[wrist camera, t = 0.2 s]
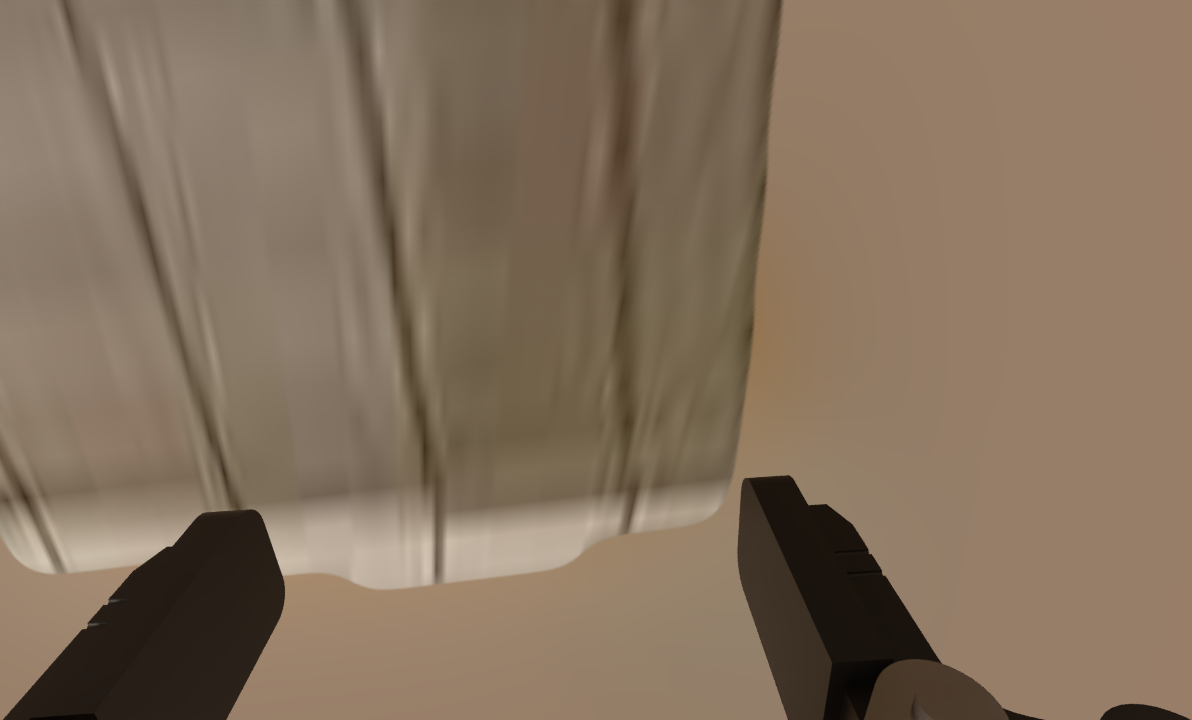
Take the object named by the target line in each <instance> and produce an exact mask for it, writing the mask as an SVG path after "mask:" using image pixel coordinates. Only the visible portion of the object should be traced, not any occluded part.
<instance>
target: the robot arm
mask: <svg viewBox="0 0 1192 720" xmlns="http://www.w3.org/2000/svg"><path fill="white" fill-rule="evenodd" d="M738 567H739V573H740V579H741V583H742V587H743V590H744V593H745V596H746V599H747V602H748V605H749V608H750V611H751V613H752V616H753V619H754V622H755V625H756V628H757V631H758V634H759V637H760V640H761V643H762V645H763V648H764V651H765V654H766V657H767V660H768V663H769V666H770V669H771V672H772V675H773V677H774V680H775V683H776V686H777V689H778V692H779V695H780V698H781V701H782V704H783V706H784V709H785V712H786V715H787V718H788V720H1043V719H1038V718H1034V717H1029V716H1025V715H1021V714H1018V713H1014V712H1011V711H1009V710H1006V709H1003V708H1002V707H1001V705H1000V704H999V703H998V702H997V700H996V699H995V698H994V697H993V696H992V695H991V694H990V693H989V692H988V691H987V690H986V689H985V688H984V687H983V686H981V685H980V684H979V683H977V682H976V681H975V680H973V679H972V678H970V677H969V676H967V675H965V674H964V673H962V672H960V671H958V670H956V669H954V668H952V667H949V666H947V665H944V664H942V663H941V662H940V660H939V659H938V658H937V656H936V654H935V653H934V651H933V650H932V648H931V647H930V645H929V643H928V642H927V640H926V639H925V637H924V635H923V634H922V633H921V631H920V629H919V628H918V626H917V625H916V623H915V621H914V620H913V619H912V617H911V615H910V614H909V612H908V610H907V609H906V607H905V606H904V604H903V603H902V601H901V599H900V598H899V596H898V595H897V593H896V592H895V590H894V589H893V587H892V585H891V584H890V582H889V581H888V579H887V578H886V576H883V575H882V570H881V568H880V567H879V565H878V564H877V562H876V560H875V559H874V557H873V556H872V554H869V552H868V548H867V546H866V545H865V543H864V542H863V540H862V538H861V537H860V535H859V534H858V532H857V531H856V529H855V527H854V526H853V524H851V523H850V522H849V521H847V520H846V519H845V518H843V517H842V516H841V515H840V514H838V513H837V512H836V511H835V510H833V509H832V508H831V507H829V506H828V505H827V504H821V505H808V504H807V502H806V500H805V499H804V497H803V495H802V494H801V492H800V490H799V488H798V486H797V485H796V483H795V481H794V479H793V478H792V477H791V476H789V475H786V476H771V477H756V478H745V479H744V480H743V483H742V489H741V502H740V518H739V534H738ZM284 599H285V585H284V580H283V576H282V573H281V570H280V567H279V565H278V562H277V559H276V556H275V553H274V550H273V547H272V544H271V541H270V538H269V536H268V533H267V530H266V527H265V524H264V521H263V519H262V517H261V515H260V514H259V513H258V512H257V511H256V510H252V509H251V510H235V511H220V512H206V513H203V514H201V515H199V516H198V517H197V518H196V519H195V520H194V521H193V523H192V524H191V525H190V526H189V527H188V529H187V530H186V531H185V532H184V533H183V535H182V536H181V537H180V538H179V539H178V541H177V542H176V543H175V544H174V545H173V546H172V547H166V548H165V549H163V550H162V551H160V552H159V553H158V554H156V555H155V556H154V557H152V558H151V559H149V560H148V561H147V562H145V563H144V564H143V565H141V566H140V567H138V568H137V569H136V570H134V571H133V572H132V573H131V574H130V575H129V577H128V578H127V579H126V580H125V581H124V582H123V583H122V585H121V586H120V587H119V588H118V589H117V590H116V591H115V593H114V594H113V595H112V596H111V597H110V598H109V603H108V605H103V606H102V607H101V608H100V610H99V611H98V612H97V613H96V614H95V615H94V616H93V618H92V619H91V620H90V621H89V622H88V627H87V629H83V630H81V631H80V632H79V634H78V635H77V636H76V637H75V638H74V639H73V641H72V642H71V643H70V644H69V645H68V646H67V647H66V648H65V650H64V651H63V652H62V653H61V654H60V655H59V656H58V658H57V659H56V660H55V661H54V662H53V663H52V664H51V666H50V667H49V668H48V669H47V670H46V671H45V672H44V674H43V675H42V676H41V677H40V678H39V679H38V680H37V682H36V683H35V684H34V685H33V686H32V687H31V689H30V690H29V691H28V692H27V693H26V694H25V695H24V696H23V697H22V699H21V700H20V701H19V702H18V703H17V704H16V705H15V707H14V708H13V709H12V710H11V711H10V713H9V714H8V715H7V716H6V717H5V718H4V719H3V720H226V719H227V717H228V715H229V713H230V712H231V710H232V708H233V706H234V704H235V702H236V700H237V698H238V696H239V695H240V693H241V691H242V689H243V687H244V685H245V683H246V681H247V679H248V677H249V676H250V673H251V671H252V670H253V668H254V666H255V664H256V662H257V660H258V658H259V657H260V655H261V653H262V651H263V649H264V647H265V645H266V644H267V642H268V640H269V638H270V636H271V634H272V632H273V630H274V628H275V626H276V625H277V623H278V621H279V619H280V616H281V613H282V610H283V606H284ZM1100 720H1190V719H1188V718H1186V717H1184V716H1181V715H1179V714H1176V713H1173V712H1171V711H1168V710H1164V709H1161V708H1158V707H1154V706H1148V705H1141V704H1125V705H1119V706H1116V707H1113V708H1111V709H1110V710H1108V711H1106V712H1105V713H1104V715H1103V716H1102V717H1101V719H1100Z"/></svg>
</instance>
